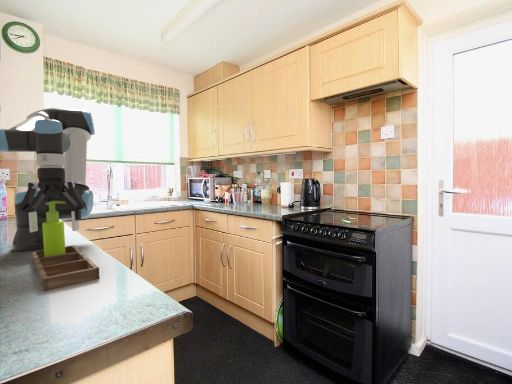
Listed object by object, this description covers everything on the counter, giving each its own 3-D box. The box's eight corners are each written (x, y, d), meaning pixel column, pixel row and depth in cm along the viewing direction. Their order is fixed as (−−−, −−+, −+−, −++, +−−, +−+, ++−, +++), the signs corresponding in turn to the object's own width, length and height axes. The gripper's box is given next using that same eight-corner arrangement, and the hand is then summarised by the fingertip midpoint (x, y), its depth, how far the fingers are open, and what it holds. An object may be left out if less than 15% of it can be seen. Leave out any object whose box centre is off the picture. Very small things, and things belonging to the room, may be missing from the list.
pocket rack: (32, 260, 99) (31, 251, 98) (75, 253, 107) (74, 245, 107) (43, 291, 72) (43, 279, 72) (99, 278, 80) (98, 267, 80)
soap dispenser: (72, 258, 100) (69, 201, 99) (51, 264, 94) (47, 203, 92) (62, 256, 102) (58, 200, 101) (40, 262, 96) (36, 202, 95)
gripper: (2, 167, 92) (7, 234, 93) (83, 166, 93) (87, 231, 94) (20, 168, 99) (24, 230, 100) (95, 167, 100) (98, 227, 102)
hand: (55, 230), depth 97 cm, fingers open, 13 cm apart
